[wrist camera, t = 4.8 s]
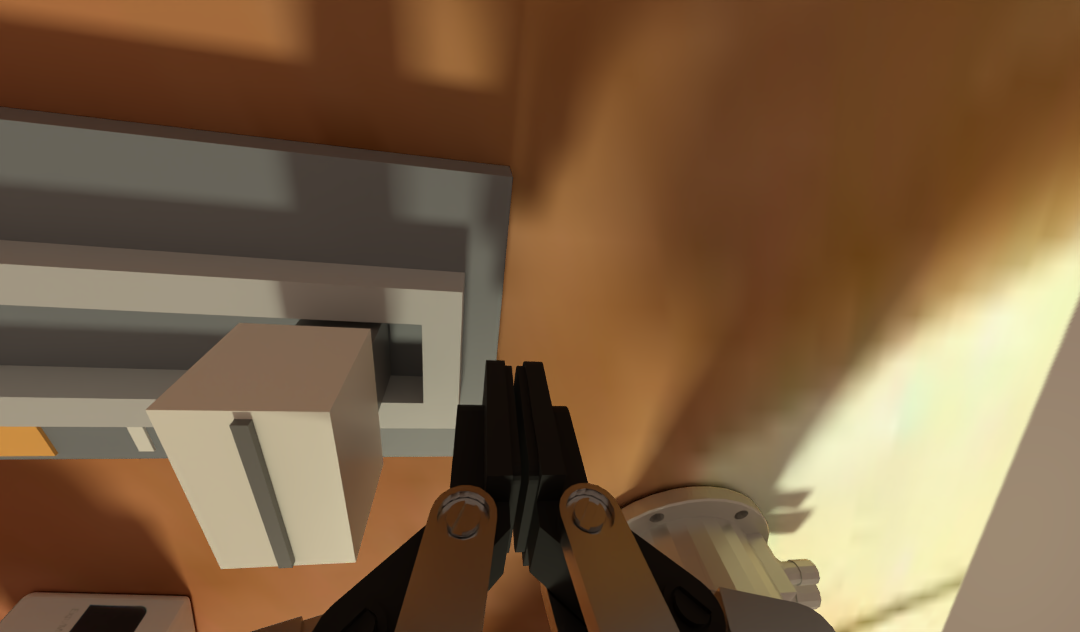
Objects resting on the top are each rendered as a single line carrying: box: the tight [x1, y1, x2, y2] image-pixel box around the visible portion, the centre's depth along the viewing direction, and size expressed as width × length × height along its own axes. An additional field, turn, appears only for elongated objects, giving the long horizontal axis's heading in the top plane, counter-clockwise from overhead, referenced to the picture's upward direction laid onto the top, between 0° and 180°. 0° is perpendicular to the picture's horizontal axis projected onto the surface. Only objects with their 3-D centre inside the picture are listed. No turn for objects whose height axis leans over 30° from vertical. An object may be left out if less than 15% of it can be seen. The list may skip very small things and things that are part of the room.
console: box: [0, 107, 513, 459], centre depth 13 cm, size 24×12×4 cm, turn 83°
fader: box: [146, 319, 391, 569], centre depth 11 cm, size 3×5×6 cm, turn 173°
